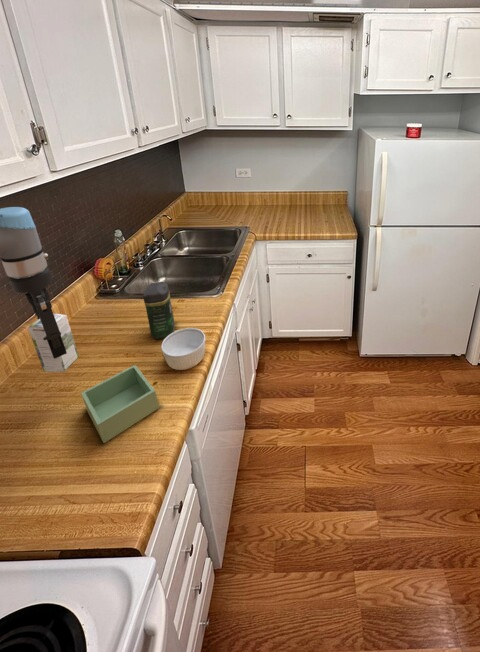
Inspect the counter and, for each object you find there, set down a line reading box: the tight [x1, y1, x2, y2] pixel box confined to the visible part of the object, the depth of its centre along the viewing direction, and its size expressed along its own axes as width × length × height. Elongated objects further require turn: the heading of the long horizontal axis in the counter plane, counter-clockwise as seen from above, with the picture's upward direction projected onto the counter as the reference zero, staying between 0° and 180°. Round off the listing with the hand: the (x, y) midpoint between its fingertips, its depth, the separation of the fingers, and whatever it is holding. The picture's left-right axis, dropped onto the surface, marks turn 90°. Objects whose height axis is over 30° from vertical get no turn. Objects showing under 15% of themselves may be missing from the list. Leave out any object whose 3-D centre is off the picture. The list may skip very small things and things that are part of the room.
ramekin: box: [160, 327, 206, 371], centre depth 106 cm, size 13×13×7 cm
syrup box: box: [27, 313, 80, 373], centre depth 87 cm, size 6×6×14 cm
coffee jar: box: [142, 281, 176, 340], centre depth 116 cm, size 10×8×19 cm
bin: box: [80, 364, 160, 444], centre depth 89 cm, size 14×14×6 cm
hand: (56, 347), depth 87 cm, fingers closed on syrup box, 8 cm apart
